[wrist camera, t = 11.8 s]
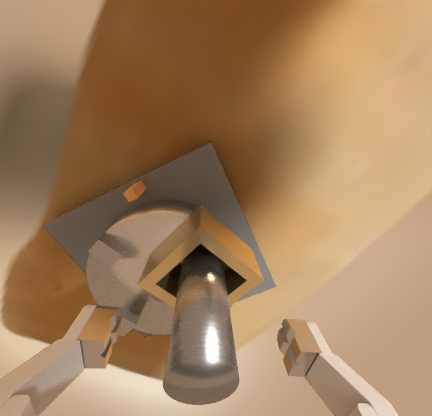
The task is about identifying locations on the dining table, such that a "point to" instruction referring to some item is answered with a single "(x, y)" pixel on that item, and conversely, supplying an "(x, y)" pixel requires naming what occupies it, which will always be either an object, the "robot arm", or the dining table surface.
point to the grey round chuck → (162, 262)
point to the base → (160, 191)
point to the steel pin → (201, 334)
